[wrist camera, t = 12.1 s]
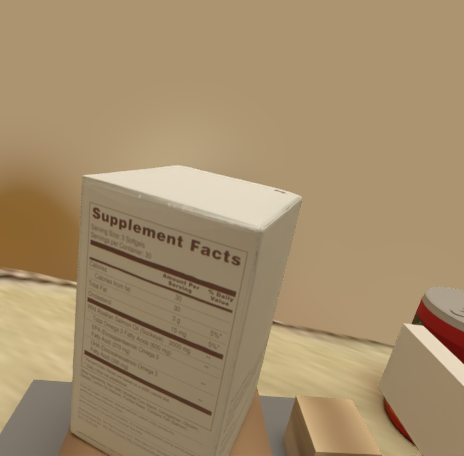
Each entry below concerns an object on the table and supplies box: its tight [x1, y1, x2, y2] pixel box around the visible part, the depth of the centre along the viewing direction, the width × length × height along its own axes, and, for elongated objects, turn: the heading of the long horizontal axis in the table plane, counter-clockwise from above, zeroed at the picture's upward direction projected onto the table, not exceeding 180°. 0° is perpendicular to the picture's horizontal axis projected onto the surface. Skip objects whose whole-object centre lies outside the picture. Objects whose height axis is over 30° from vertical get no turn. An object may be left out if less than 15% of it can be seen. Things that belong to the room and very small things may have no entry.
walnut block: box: [58, 388, 272, 456], centre depth 19 cm, size 10×10×5 cm
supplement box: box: [70, 165, 302, 456], centre depth 16 cm, size 7×7×13 cm
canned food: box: [385, 287, 464, 443], centre depth 27 cm, size 8×8×11 cm
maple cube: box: [283, 396, 382, 456], centre depth 22 cm, size 4×4×4 cm
